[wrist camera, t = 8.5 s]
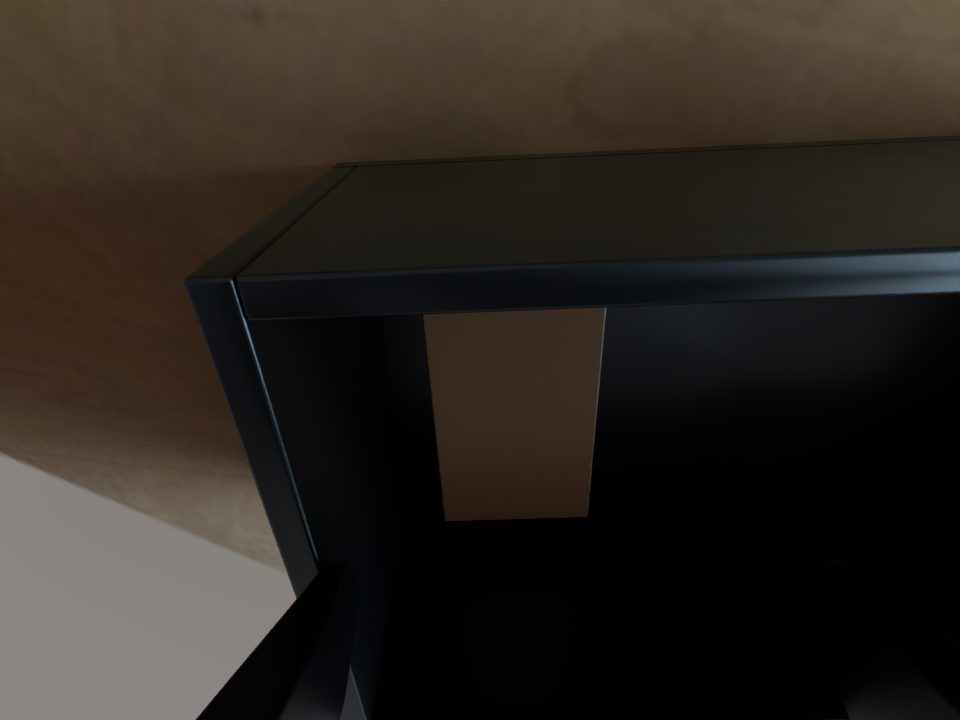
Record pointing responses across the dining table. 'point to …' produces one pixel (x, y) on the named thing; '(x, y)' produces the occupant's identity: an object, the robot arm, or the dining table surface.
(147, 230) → the dining table surface
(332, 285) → the trash bin
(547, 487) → the brown block
